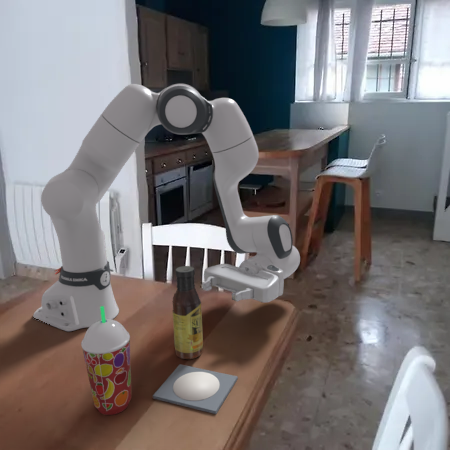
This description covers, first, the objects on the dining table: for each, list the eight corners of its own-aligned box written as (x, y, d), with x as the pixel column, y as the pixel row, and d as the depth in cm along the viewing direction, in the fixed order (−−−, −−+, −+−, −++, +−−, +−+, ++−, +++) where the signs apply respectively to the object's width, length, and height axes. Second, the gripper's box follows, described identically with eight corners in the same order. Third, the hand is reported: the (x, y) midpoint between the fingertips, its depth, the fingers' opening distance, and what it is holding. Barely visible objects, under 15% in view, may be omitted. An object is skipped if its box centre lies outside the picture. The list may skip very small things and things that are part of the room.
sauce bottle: (199, 362, 95) (194, 275, 90) (171, 359, 96) (165, 274, 91) (206, 346, 101) (202, 264, 96) (180, 344, 102) (175, 263, 97)
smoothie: (95, 392, 86) (82, 298, 81) (138, 389, 87) (129, 295, 81) (85, 422, 78) (71, 319, 73) (133, 418, 79) (123, 316, 73)
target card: (153, 398, 84) (152, 395, 84) (180, 366, 94) (179, 363, 94) (216, 414, 79) (216, 410, 79) (237, 379, 89) (237, 376, 89)
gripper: (224, 254, 119) (187, 269, 109) (288, 272, 106) (252, 290, 96) (225, 276, 121) (188, 293, 111) (288, 296, 107) (252, 317, 98)
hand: (218, 292), depth 103 cm, fingers open, 8 cm apart
